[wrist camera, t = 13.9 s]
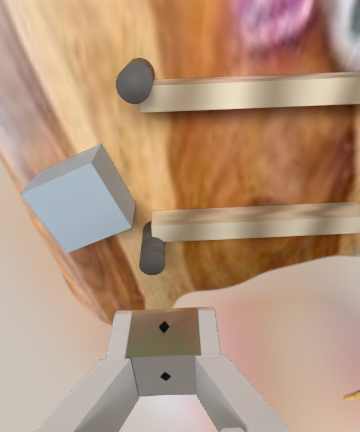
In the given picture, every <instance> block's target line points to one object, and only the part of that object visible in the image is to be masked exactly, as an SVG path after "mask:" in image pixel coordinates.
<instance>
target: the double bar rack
mask: <svg viewBox="0 0 360 432" xmlns="http://www.w3.org/2000/svg"><path fill="white" fill-rule="evenodd" d="M116 88H117V91H118V94H119V95H120V97H121V98H122V99H123V100H125V101H126V102H128V103H131V104H139V103H140V113H143V112H168V111H193V110H217V109H242V108H267V107H292V106H316V105H341V104H360V72H339V73H313V74H288V75H262V76H236V77H211V78H185V79H160V80H154V69H153V67H152V65H151V64H150V63H149V62H148V61H147V60H145V59H142V58H136V59H133V60H132V61H131V62H130V63H129V64H128V65H127V66H126V67H125V68H124V69H123V70H122V71H121V72H120V73H119V75H118V77H117V80H116ZM349 233H360V205H359V204H358V203H357V202H340V203H317V204H295V205H273V206H250V207H228V208H206V209H184V210H161V211H152V221H151V222H148V223H147V224H146V225H145V226H144V228H143V237H142V246H141V254H140V263H139V267H140V269H141V271H142V272H144V273H145V274H148V275H156V274H159V273H161V272H162V271H163V269H164V267H165V242H176V241H198V240H219V239H241V238H263V237H284V236H306V235H327V234H349Z"/></svg>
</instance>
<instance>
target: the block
mask: <svg viewBox="0 0 360 432" xmlns="http://www.w3.org/2000/svg"><path fill="white" fill-rule="evenodd" d="M20 195H21V196H22V198H23V199H24V200H25V201H26V203H27V204H28V205H29V206H30V208H31V209H32V210H33V211H34V213H35V214H36V215H37V216H38V218H39V219H40V220H41V221H42V223H43V224H44V225H45V226H46V228H47V229H48V230H49V231H50V233H51V234H52V235H53V236H54V238H55V239H56V240H57V241H58V243H59V244H60V245H61V246H62V248H63V249H64V250H65V251H66V253H69V252H71V251H74V250H76V249H79V248H81V247H84V246H86V245H89V244H92V243H94V242H97V241H99V240H102V239H104V238H107V237H109V236H112V235H115V234H117V233H120V232H122V231H125V230H127V229H130V228H132V222H133V216H134V211H135V205H136V202H135V200H134V198H133V197H132V195H131V193H130V191H129V190H128V188H127V186H126V185H125V183H124V181H123V179H122V178H121V176H120V174H119V173H118V171H117V169H116V167H115V166H114V164H113V162H112V161H111V159H110V157H109V155H108V154H107V152H106V150H105V149H104V147H103V145H102V143H101V144H99V145H97V146H95V147H92V148H90V149H88V150H86V151H84V152H81V153H79V154H77V155H75V156H73V157H70V158H68V159H66V160H64V161H62V162H59V163H57V164H55V165H53V166H51V167H48V168H46V169H44V170H42V171H40V172H39V173H38V174H37V175H36V176H35V177H34V179H33V180H32V181H31V182H30V183H29V184H28V186H27V187H26V188H25V189H24V190H23V191H22V193H21V194H20Z"/></svg>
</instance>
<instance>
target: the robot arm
mask: <svg viewBox="0 0 360 432" xmlns="http://www.w3.org/2000/svg"><path fill="white" fill-rule="evenodd" d="M185 394H188V395H192V394H197V397H198V399H199V400H200V402H201V404H202V405H203V407H204V409H205V410H206V412H207V414H208V415H209V417H210V418H211V420H212V422H213V423H214V425H215V427H216V429H217V430H218V432H288V429H287V425H286V424H285V423H284V422H283V420H282V419H281V418H280V417H279V416H278V415H277V413H276V412H275V411H274V410H273V409H272V408H271V406H270V405H269V404H268V403H267V402H266V400H265V399H264V398H263V397H262V396H261V395H260V393H259V392H258V391H257V390H256V389H255V388H254V386H253V385H252V384H251V383H250V382H249V381H248V379H247V378H246V377H245V376H244V375H243V374H242V372H241V371H240V370H239V369H238V368H237V367H236V366H235V364H233V362H232V361H231V360H230V359H229V357H228V356H227V355H221V350H220V344H219V335H218V329H217V321H216V313H215V309H214V307H199V308H196V307H195V308H176V309H165V310H120V311H117V312H116V313H115V315H114V320H113V325H112V330H111V334H110V339H109V344H108V348H107V354H106V358H105V359H101V360H99V361H98V363H97V364H96V365H95V366H94V367H93V368H92V369H91V370H90V371H89V373H88V374H87V375H86V376H85V377H84V378H83V379H82V380H81V382H80V383H79V384H78V385H77V386H76V387H75V388H74V389H73V390H72V391H71V393H70V394H69V395H68V396H67V397H66V398H65V399H64V400H63V401H62V403H61V404H60V405H59V406H58V407H57V408H56V409H55V410H54V411H53V413H52V414H51V415H50V416H49V417H48V418H47V419H46V420H45V422H44V423H43V424H42V425H41V426H40V427H39V428H38V429H37V430H36V431H35V432H119V430H120V429H121V427H122V425H123V424H124V422H125V420H126V419H127V417H128V415H129V414H130V412H131V411H132V409H133V407H134V406H135V404H136V403H137V401H138V399H139V396H155V395H185Z"/></svg>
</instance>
